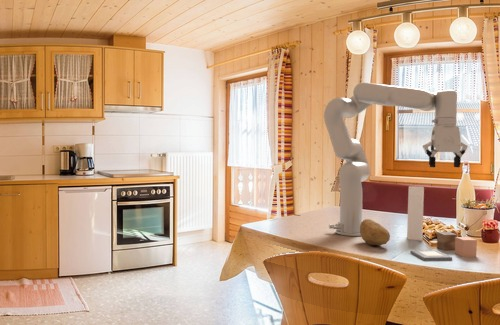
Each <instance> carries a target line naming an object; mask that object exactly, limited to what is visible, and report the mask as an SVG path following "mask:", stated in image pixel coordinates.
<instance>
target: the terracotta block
mask: <svg viewBox="0 0 500 325" xmlns="http://www.w3.org/2000/svg"><path fill="white" fill-rule="evenodd" d="M477 242H478V240H477V239H475V238H472V237H470V236H457V237H455V251H454V254H455V255H458V256H460V257H463V258H467V257H468V258H475V257H476V258H477V251H478V250H477V246H478V243H477Z"/></svg>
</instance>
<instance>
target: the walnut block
mask: <svg viewBox="0 0 500 325" xmlns="http://www.w3.org/2000/svg"><path fill="white" fill-rule="evenodd" d="M436 234H437V235H436V236H437V237H436V239H437V240H436V248H437V249H440V250H442V251H443V252H444V251H445V252H448V251H451V252H452V251H453V252H455V237H458V234H456V233H454V232H450V231H437V233H436Z"/></svg>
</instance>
